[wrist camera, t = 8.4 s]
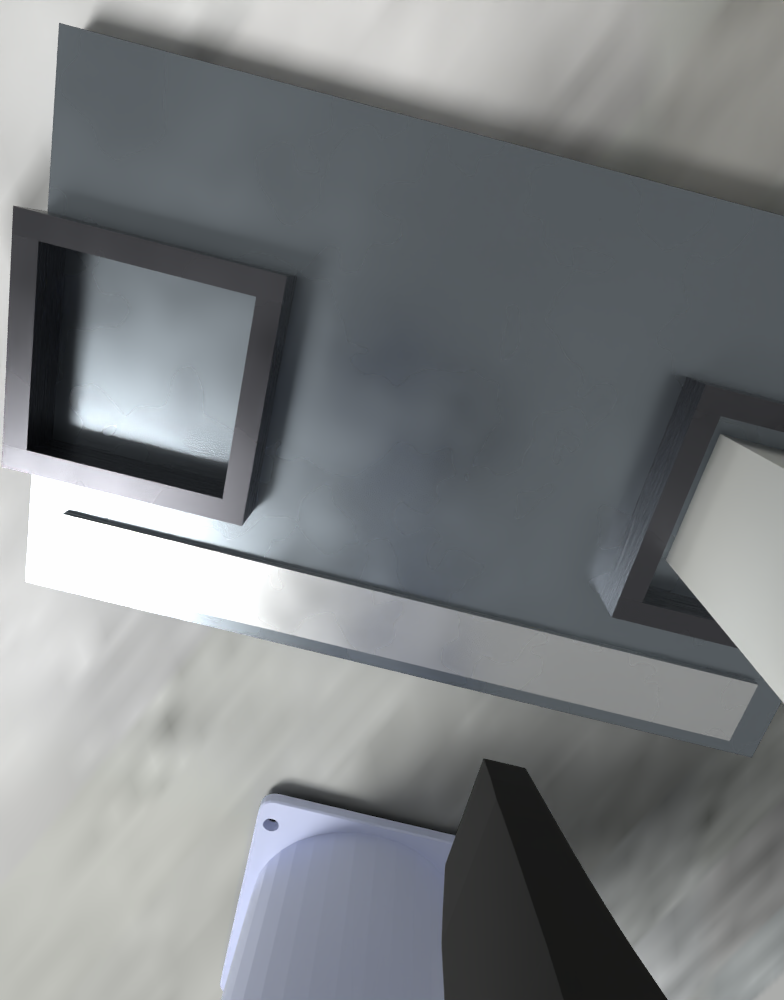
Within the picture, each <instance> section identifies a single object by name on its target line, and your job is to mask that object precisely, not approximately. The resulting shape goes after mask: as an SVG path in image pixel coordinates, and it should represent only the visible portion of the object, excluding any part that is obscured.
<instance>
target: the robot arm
mask: <svg viewBox="0 0 784 1000" xmlns="http://www.w3.org/2000/svg"><path fill="white" fill-rule="evenodd" d="M268 819H274V820H276V821H277V822H272V821H270V820H268ZM220 987H221V988H222V990H223V995H222V998H221V1000H667V998H666V997H665V995H664V994H663V992H662V991H661V989H660V988H659V986H658V985H657V983H656V982H655V981H654V979H653V978H652V976H651V975H650V973H649V972H648V970H647V969H646V967H645V966H644V964H643V963H642V961H641V960H640V958H639V957H638V956H637V954H636V953H635V951H634V950H633V948H632V947H631V945H630V944H629V942H628V940H627V939H626V937H625V936H624V934H623V933H622V931H621V930H620V928H619V927H618V925H617V923H616V922H615V920H614V919H613V917H612V915H611V914H610V912H609V910H608V909H607V907H606V906H605V904H604V902H603V901H602V899H601V897H600V896H599V894H598V893H597V891H596V889H595V888H594V886H593V884H592V883H591V881H590V880H589V878H588V876H587V875H586V873H585V871H584V870H583V868H582V866H581V864H580V863H579V861H578V859H577V858H576V856H575V854H574V853H573V851H572V849H571V847H570V846H569V844H568V842H567V840H566V839H565V837H564V835H563V833H562V832H561V830H560V828H559V826H558V825H557V823H556V821H555V819H554V818H553V816H552V814H551V812H550V811H549V809H548V807H547V805H546V804H545V802H544V800H543V798H542V796H541V795H540V793H539V791H538V789H537V788H536V786H535V784H534V783H533V781H532V779H531V777H530V776H529V774H528V772H527V770H526V769H525V768H522V767H517V766H513V765H509V764H505V763H501V762H496V761H492V760H488V759H483V761H482V764H481V767H480V770H479V773H478V775H477V778H476V781H475V784H474V786H473V789H472V792H471V795H470V797H469V800H468V803H467V806H466V808H465V811H464V814H463V817H462V820H461V822H460V825H459V828H458V831H457V833H456V836H455V835H451V834H447V833H442V832H438V831H434V830H430V829H425V828H421V827H417V826H413V825H408V824H404V823H400V822H396V821H391V820H387V819H383V818H379V817H374V816H370V815H366V814H362V813H357V812H353V811H349V810H345V809H340V808H336V807H332V806H328V805H323V804H319V803H315V802H311V801H306V800H302V799H298V798H294V797H289V796H285V795H281V794H269V795H267V796H265V797H264V798H263V800H262V802H261V804H260V808H259V811H258V816H257V820H256V825H255V829H254V834H253V838H252V843H251V847H250V852H249V856H248V860H247V865H246V869H245V874H244V878H243V883H242V887H241V892H240V896H239V900H238V905H237V909H236V914H235V918H234V923H233V927H232V932H231V936H230V940H229V945H228V949H227V954H226V958H225V963H224V967H223V972H222V976H221V981H220Z"/></svg>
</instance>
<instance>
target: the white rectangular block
mask: <svg viewBox="0 0 784 1000" xmlns="http://www.w3.org/2000/svg"><path fill="white" fill-rule="evenodd" d="M666 561H667V562H668V564H669V565H670V566H671V567H672V569H673V570H674V571H675V572H676V573H677V575H678V576H679V577H680V578H681V579H682V581H683V582H684V583H685V584H686V585H687V587H688V588H689V589H690V590H691V592H692V593H693V594H694V595H695V596H696V598H697V599H698V600H699V601H700V602H701V604H702V605H703V606H704V607H705V608H706V610H707V611H708V612H709V613H710V615H711V616H712V617H713V618H714V619H715V621H716V622H717V623H718V624H719V625H720V627H721V628H722V629H723V630H724V631H725V633H726V634H727V635H728V636H729V638H730V639H731V640H732V641H733V642H734V644H735V645H736V646H737V647H738V648H739V650H740V651H741V652H742V653H743V655H744V656H745V657H746V658H747V659H748V661H749V662H750V663H751V664H752V665H753V667H754V668H755V669H756V670H757V671H758V673H759V674H760V675H761V676H762V678H763V679H764V680H765V681H766V682H767V684H768V685H769V686H770V687H771V688H772V690H773V691H774V692H775V693H776V694H777V696H778V697H779V698H780V699H781V701H782V702H783V703H784V450H780V449H776V448H772V447H769V446H765V445H761V444H757V443H753V442H749V441H746V440H742V439H738V438H734V437H730V436H727V435H723V434H720V435H719V438H718V440H717V442H716V445H715V447H714V449H713V451H712V454H711V456H710V458H709V461H708V463H707V465H706V468H705V470H704V472H703V475H702V477H701V479H700V482H699V484H698V486H697V489H696V491H695V493H694V496H693V498H692V500H691V502H690V505H689V507H688V509H687V512H686V514H685V516H684V519H683V521H682V523H681V526H680V528H679V530H678V533H677V535H676V537H675V540H674V542H673V544H672V546H671V549H670V551H669V553H668V556H667V558H666Z"/></svg>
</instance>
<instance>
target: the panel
mask: <svg viewBox="0 0 784 1000" xmlns="http://www.w3.org/2000/svg"><path fill="white" fill-rule="evenodd" d="M720 434H723V435H727V436H730V437H734V438H738V439H742V440H746V441H749V442H753V443H757V444H761V445H765V446H769V447H772V448H776V449H780V450H784V216H782V215H778V214H774V213H771V212H767V211H763V210H759V209H756V208H752V207H748V206H744V205H741V204H737V203H733V202H729V201H726V200H722V199H718V198H714V197H710V196H707V195H703V194H699V193H695V192H692V191H688V190H684V189H680V188H677V187H673V186H669V185H665V184H662V183H658V182H654V181H650V180H647V179H643V178H639V177H635V176H632V175H628V174H624V173H620V172H617V171H613V170H609V169H605V168H602V167H598V166H594V165H590V164H587V163H583V162H579V161H575V160H572V159H568V158H564V157H560V156H557V155H553V154H549V153H545V152H542V151H538V150H534V149H530V148H527V147H523V146H519V145H515V144H512V143H508V142H504V141H500V140H497V139H493V138H489V137H485V136H482V135H478V134H474V133H470V132H467V131H463V130H459V129H455V128H452V127H448V126H444V125H440V124H437V123H433V122H429V121H425V120H422V119H418V118H414V117H410V116H407V115H403V114H399V113H395V112H392V111H388V110H384V109H380V108H377V107H373V106H369V105H365V104H362V103H358V102H354V101H350V100H347V99H343V98H339V97H335V96H332V95H328V94H324V93H320V92H317V91H313V90H309V89H305V88H302V87H298V86H294V85H290V84H287V83H283V82H279V81H275V80H272V79H268V78H264V77H260V76H256V75H253V74H249V73H245V72H241V71H238V70H234V69H230V68H226V67H223V66H219V65H215V64H211V63H208V62H204V61H200V60H196V59H193V58H189V57H185V56H181V55H178V54H174V53H170V52H166V51H163V50H159V49H155V48H151V47H148V46H144V45H140V44H136V43H133V42H129V41H125V40H121V39H118V38H114V37H110V36H106V35H103V34H99V33H95V32H91V31H88V30H84V29H80V28H76V27H73V26H69V25H65V24H61V23H59V34H58V51H57V67H56V84H55V100H54V117H53V133H52V150H51V166H50V183H49V199H48V212H47V211H42V210H36V209H30V208H24V207H18V206H13V225H12V248H11V270H10V293H9V316H8V338H7V361H6V383H5V406H4V429H3V451H2V467H4V468H8V469H12V470H16V471H20V472H24V473H28V474H32V479H31V496H30V512H29V529H28V545H27V562H26V578H25V582H28V583H32V584H36V585H41V586H45V587H49V588H53V589H57V590H61V591H65V592H69V593H74V594H78V595H82V596H86V597H90V598H94V599H98V600H103V601H107V602H111V603H115V604H119V605H123V606H127V607H132V608H136V609H140V610H144V611H148V612H152V613H156V614H160V615H165V616H169V617H173V618H177V619H181V620H185V621H189V622H194V623H198V624H202V625H206V626H210V627H214V628H218V629H223V630H227V631H231V632H235V633H239V634H243V635H247V636H251V637H256V638H260V639H264V640H268V641H272V642H276V643H280V644H285V645H289V646H293V647H297V648H301V649H305V650H309V651H313V652H318V653H322V654H326V655H330V656H334V657H338V658H342V659H347V660H351V661H355V662H359V663H363V664H367V665H371V666H376V667H380V668H384V669H388V670H392V671H396V672H400V673H404V674H409V675H413V676H417V677H421V678H425V679H429V680H433V681H438V682H442V683H446V684H450V685H454V686H458V687H462V688H467V689H471V690H475V691H479V692H483V693H487V694H491V695H495V696H500V697H504V698H508V699H512V700H516V701H520V702H524V703H529V704H533V705H537V706H541V707H545V708H549V709H553V710H558V711H562V712H566V713H570V714H574V715H578V716H582V717H586V718H591V719H595V720H599V721H603V722H607V723H611V724H615V725H620V726H624V727H628V728H632V729H636V730H640V731H644V732H648V733H653V734H657V735H661V736H665V737H669V738H673V739H677V740H682V741H686V742H690V743H694V744H698V745H702V746H706V747H711V748H715V749H719V750H723V751H727V752H731V753H735V754H739V755H744V756H748V757H752V756H753V754H754V752H755V750H756V749H757V747H758V745H759V743H760V741H761V739H762V737H763V735H764V734H765V732H766V730H767V728H768V726H769V724H770V722H771V720H772V719H773V717H774V715H775V713H776V711H777V709H778V707H779V705H780V704H781V702H782V701H781V699H780V698H779V697H778V696H777V694H776V693H775V692H774V691H773V690H772V688H771V687H770V686H769V685H768V684H767V682H766V681H765V680H764V679H763V678H762V676H761V675H760V674H759V673H758V671H757V670H756V669H755V668H754V667H753V665H752V664H751V663H750V662H749V661H748V659H747V658H746V657H745V656H744V655H743V653H742V652H741V651H740V650H739V648H738V647H737V646H736V645H735V644H734V642H733V641H732V640H731V639H730V638H729V636H728V635H727V634H726V633H725V631H724V630H723V629H722V628H721V627H720V625H719V624H718V623H717V622H716V621H715V619H714V618H713V617H712V616H711V615H710V613H709V612H708V611H707V610H706V608H705V607H704V606H703V605H702V604H701V602H700V601H699V600H698V599H697V598H696V596H695V595H694V594H693V593H692V592H691V590H690V589H689V588H688V587H687V585H686V584H685V583H684V582H683V581H682V579H681V578H680V577H679V576H678V575H677V573H676V572H675V571H674V570H673V569H672V567H671V566H670V565H669V564H668V562H667V561H666V558H667V556H668V553H669V551H670V549H671V546H672V544H673V542H674V540H675V537H676V535H677V533H678V530H679V528H680V526H681V523H682V521H683V519H684V516H685V514H686V512H687V509H688V507H689V505H690V502H691V500H692V498H693V496H694V493H695V491H696V489H697V486H698V484H699V482H700V479H701V477H702V475H703V472H704V470H705V468H706V465H707V463H708V461H709V458H710V456H711V454H712V451H713V449H714V447H715V445H716V442H717V440H718V438H719V435H720Z"/></svg>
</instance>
